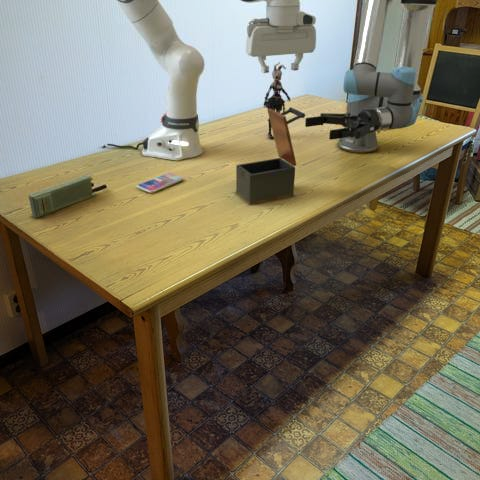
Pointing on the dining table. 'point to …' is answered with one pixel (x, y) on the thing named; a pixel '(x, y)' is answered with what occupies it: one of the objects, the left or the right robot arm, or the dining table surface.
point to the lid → (283, 133)
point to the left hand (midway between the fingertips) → (280, 71)
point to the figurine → (275, 95)
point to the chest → (265, 180)
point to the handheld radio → (62, 195)
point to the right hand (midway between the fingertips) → (317, 128)
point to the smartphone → (159, 182)
